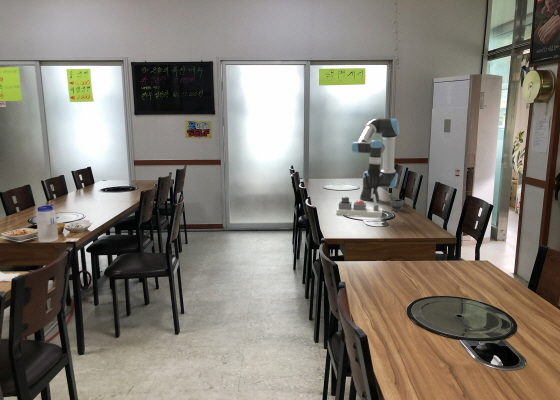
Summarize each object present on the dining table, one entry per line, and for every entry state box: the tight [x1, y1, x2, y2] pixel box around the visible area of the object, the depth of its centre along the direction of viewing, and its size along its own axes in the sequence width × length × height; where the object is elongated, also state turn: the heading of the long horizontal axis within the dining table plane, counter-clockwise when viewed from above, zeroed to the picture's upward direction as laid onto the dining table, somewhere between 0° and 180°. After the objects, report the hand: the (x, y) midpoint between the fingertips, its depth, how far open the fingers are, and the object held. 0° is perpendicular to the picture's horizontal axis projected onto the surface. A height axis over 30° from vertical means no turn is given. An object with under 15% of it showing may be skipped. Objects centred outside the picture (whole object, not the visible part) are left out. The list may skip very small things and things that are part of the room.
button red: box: [355, 199, 365, 204], centre depth 311 cm, size 5×5×5 cm
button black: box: [341, 196, 350, 204], centre depth 313 cm, size 5×5×5 cm
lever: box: [373, 195, 378, 207], centre depth 308 cm, size 4×1×10 cm, turn 166°
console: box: [335, 200, 383, 218], centre depth 311 cm, size 16×30×7 cm, turn 76°
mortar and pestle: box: [387, 192, 405, 212], centre depth 323 cm, size 11×9×12 cm
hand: (371, 198), depth 308 cm, fingers closed
